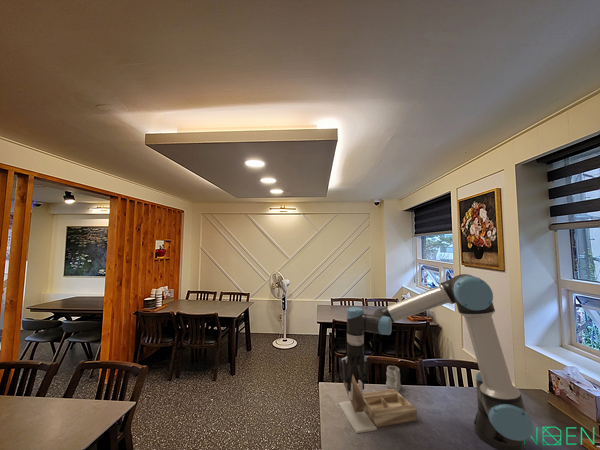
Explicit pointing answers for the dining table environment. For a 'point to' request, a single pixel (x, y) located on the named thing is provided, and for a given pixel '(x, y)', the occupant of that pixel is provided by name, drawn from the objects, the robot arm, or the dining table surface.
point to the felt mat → (357, 418)
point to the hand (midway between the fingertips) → (355, 397)
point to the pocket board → (388, 408)
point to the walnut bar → (356, 397)
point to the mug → (393, 378)
